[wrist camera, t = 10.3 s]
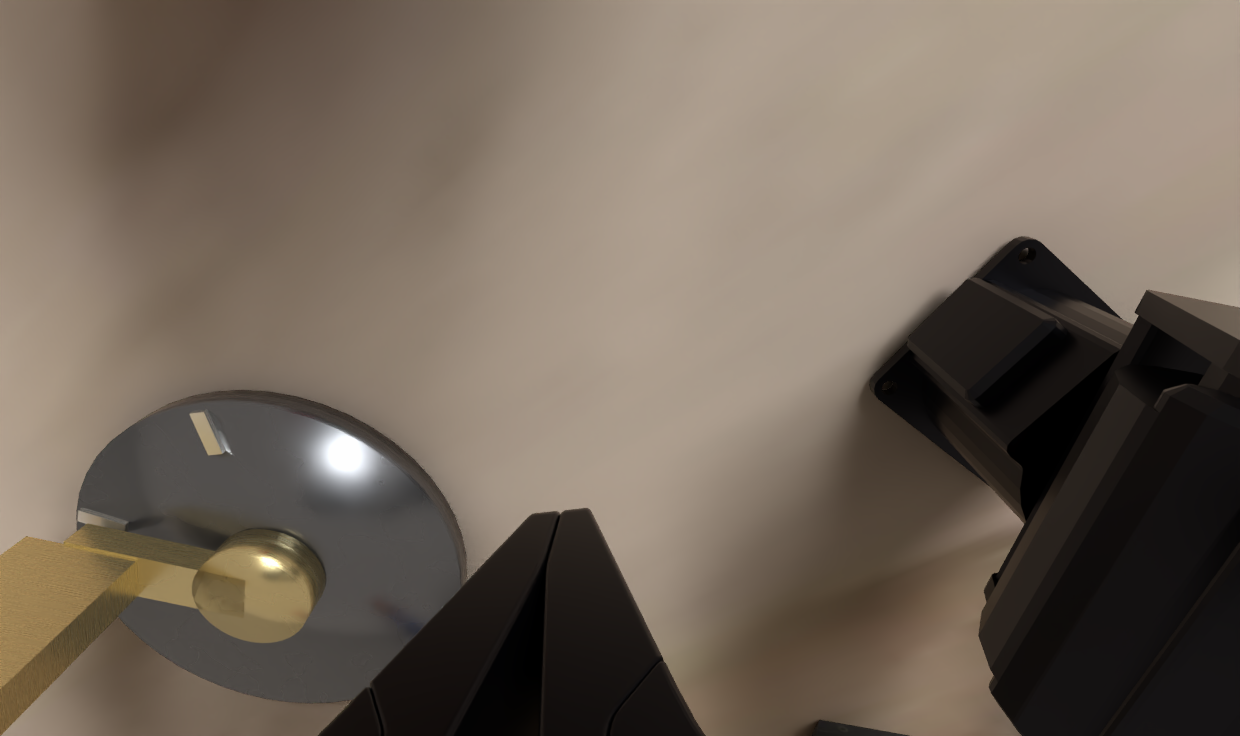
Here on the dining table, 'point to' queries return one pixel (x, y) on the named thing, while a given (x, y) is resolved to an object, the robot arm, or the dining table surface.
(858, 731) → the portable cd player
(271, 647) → the lock plate
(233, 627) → the gold bent piece
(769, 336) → the dining table surface
